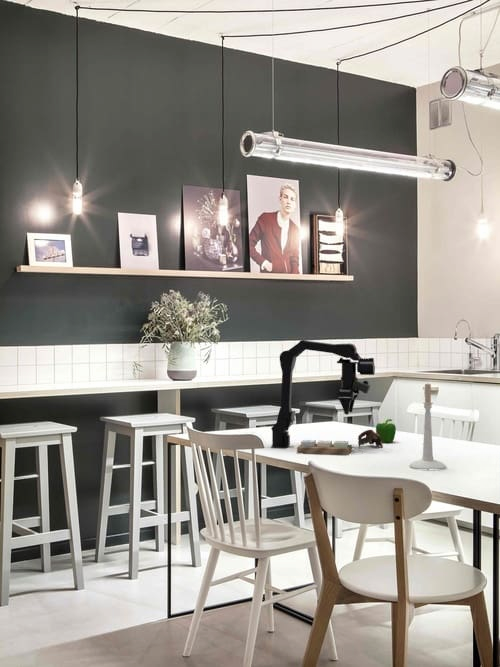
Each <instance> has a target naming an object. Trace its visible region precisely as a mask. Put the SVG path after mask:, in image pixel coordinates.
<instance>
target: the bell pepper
mask: <svg viewBox="0 0 500 667" xmlns="http://www.w3.org/2000/svg"><path fill="white" fill-rule="evenodd" d="M392 421H393V419H391V418H387V419H386V420H385V421H384V422H383V423H382V422H381V423H377V424H376V426H375V433H377V434H378V435H379V436H380V438H381V441H382V444H383V443H384V444H388V443H394V440H395V436H396V432H397V430H396V428H397V427H396V425H395V424H394V423H393V422H392ZM389 422H390V423H389ZM391 422H392V423H391Z"/></svg>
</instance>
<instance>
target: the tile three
mask: <svg viewBox="0 0 500 667" xmlns="http://www.w3.org/2000/svg"><path fill="white" fill-rule="evenodd" d="M333 444H334V448H348V445H349V441H345V440H342V441H341V440H335V441H334V442H333Z"/></svg>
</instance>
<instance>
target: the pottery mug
mask: <svg viewBox="0 0 500 667" xmlns="http://www.w3.org/2000/svg"><path fill="white" fill-rule="evenodd" d="M357 437H358V438H357V440H358V441H357V442H358V443H357V445H358V447H359V448H361V446H364V445H365V444H366V445H367V444H368V445H374V443H375V447H381V449H383V448H384V445H383V443H382V441H381V438H380V436H379V435H378V434H377V433H376V431H374V430H373V429H367V430H364V431H363V432H361V433H359V435H358V436H357Z"/></svg>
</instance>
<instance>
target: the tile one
mask: <svg viewBox="0 0 500 667" xmlns="http://www.w3.org/2000/svg"><path fill="white" fill-rule="evenodd" d="M316 441H317V440H313V439H302V440H301V442H300V445H301V446H305V447H315V446H316V444H317V442H316Z"/></svg>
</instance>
